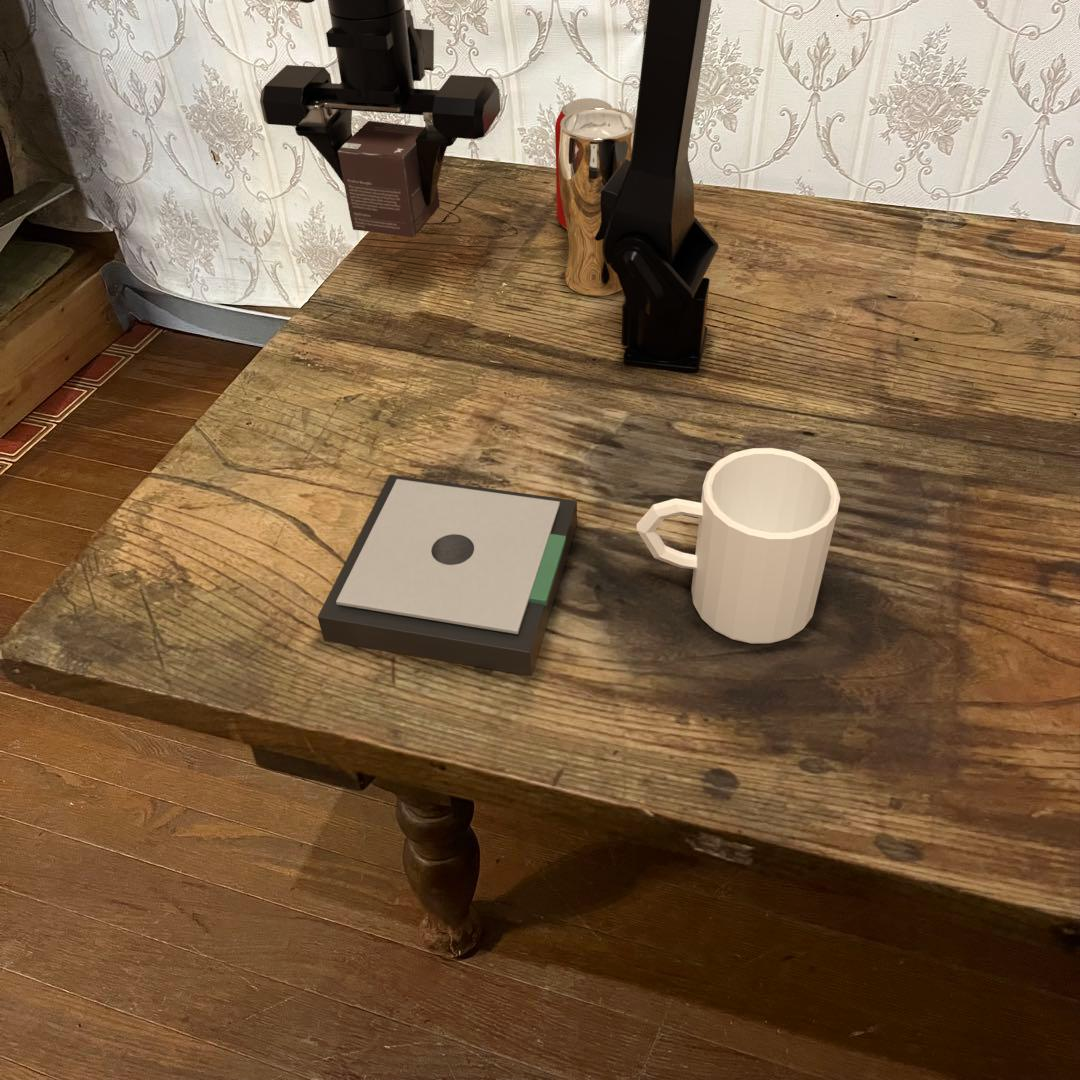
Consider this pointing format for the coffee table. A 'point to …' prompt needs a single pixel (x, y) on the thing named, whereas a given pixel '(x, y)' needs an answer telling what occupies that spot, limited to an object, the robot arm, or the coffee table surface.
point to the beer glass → (590, 190)
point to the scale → (453, 574)
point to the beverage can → (565, 110)
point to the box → (385, 180)
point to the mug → (754, 542)
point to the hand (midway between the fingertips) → (394, 200)
